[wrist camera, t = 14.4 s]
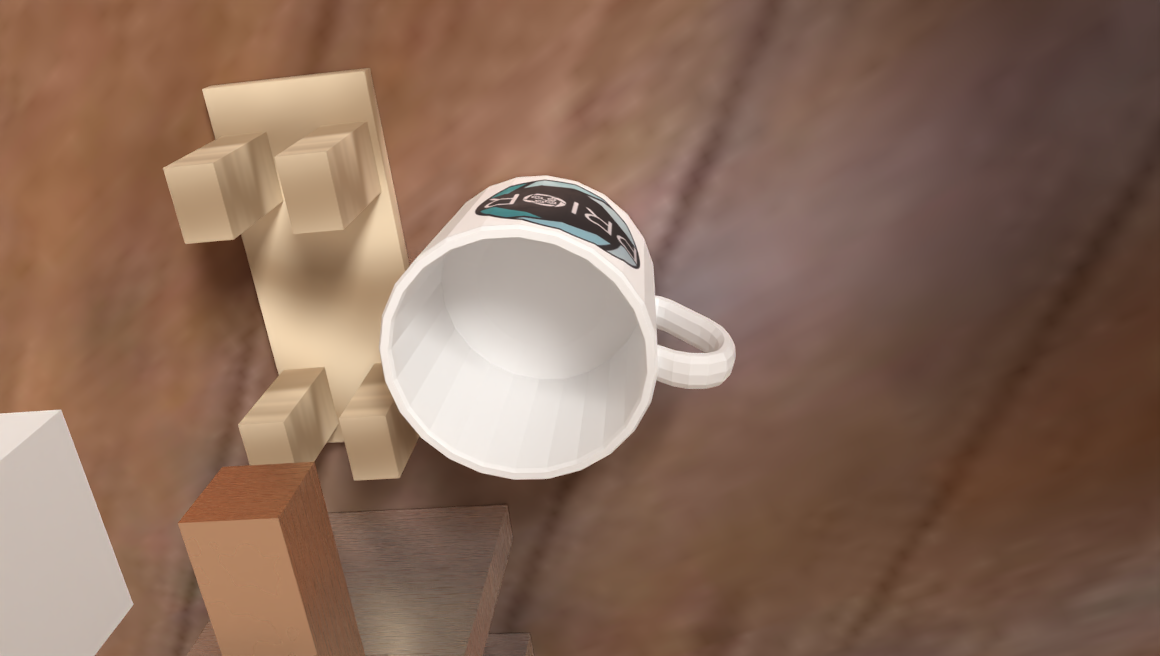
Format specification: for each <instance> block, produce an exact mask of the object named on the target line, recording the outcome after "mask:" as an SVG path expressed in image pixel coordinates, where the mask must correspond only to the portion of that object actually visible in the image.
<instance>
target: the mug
mask: <svg viewBox="0 0 1160 656" xmlns="http://www.w3.org/2000/svg"><path fill="white" fill-rule="evenodd" d="M657 328H658V329H660V330H663V331H665V332H667V333H669V334H671V335H673V336H675V337H677V338H679V339H680V340H682V341H684V342H686V343H688V344H690V345H692V346H694V347H695V348H697V349H699V350H701V351H703V352H704V353H688V352H682V351H676V350H673V349H670V348H667V347H664V346H660V345H657ZM379 352H380V357H381V363H382V368H383V374H384V379H385V382H386V384H387V386H388V388H389V390H390V392H391V394H392V397H393V399H394V401H395V403H396V405H397V407H398V409H399V411H400V413H401V414H402V415H403V416H404V418H405V419H406V420H407V421H408V422H409V424H410V425H411V426H412V427H413V428H414V430H415V431H416V432H417V433H418V434H419V436H420V437H421V438H422V439H423V440H425V441H426V442H427V443H429V444H430V445H431V446H433V447H434V448H435V449H437V450H438V451H439V452H441V453H442V454H443V455H445V456H446V457H447V458H449V459H451V460H453V461H455V462H457V463H460V464H462V465H464V466H466V467H469V468H471V469H473V470H475V471H478V472H480V473H484V474H489V475H494V476H499V477H504V478H509V479H514V480H520V479H549V478H553V477H557V476H561V475H565V474H569V473H572V472H576V471H580V470H582V469H584V468H586V467H588V466H590V465H591V464H593V463H595V462H597V461H599V460H601V459H602V458H604V457H606V456H608V455H610V454H611V453H612V452H613V451H614V450H616V449H617V448H618V447H619V446H620V445H621V444H622V443H623V442H624V441H625V440H626V439H627V438H628V437H629V436H630V435H631V434H632V433H633V432H634V431H635V430H636V428H637V426H638V424H639V423H640V421H641V419H642V417H643V416H644V414H645V412H646V410H647V409H648V407H649V405H650V404H651V401H652V396H653V392H654V388H655V384H656V381H659V382H662V383H665V384H668V385H670V386H675V387H680V388H686V389H707V388H711V387H715V386H719V385H720V384H722V383H723V382H724V381H725V380H726V379H727V378H728V377H729V376H730V375H731V372H732V368H733V365H734V362H735V358H736V352H735V345H734V342H733V340H732V338H731V337H730V335H729V334H728V332H727V331H726V330H725V329H724V328H723V327H722V326H720V325H719V324H717V323H715V322H714V321H712V320H711V319H709V318H707V317H705V316H703V315H701V314H699V313H697V312H695V311H693V310H691V309H689V308H686V307H684V306H682V305H680V304H678V303H676V302H674V301H672V300H670V299H667V298H664V297H661V296H655V283H654V267H653V262H652V260H651V257H650V254H649V251H648V248H647V245H646V243H645V240H644V237H643V236H642V235H641V233H640V232H639V230H638V229H637V227H636V226H635V225H634V223H633V222H632V220H631V219H630V217H629V216H628V214H627V213H625V212H624V211H623V210H622V209H621V208H619V207H618V206H617V205H616V204H615V203H614V202H612V201H611V200H610V199H609V198H608V197H607V196H605V195H604V194H602V193H600V192H598V191H596V190H594V189H592V188H589V187H587V186H585V185H583V184H581V183H579V182H577V181H572V180H567V179H562V178H557V177H552V176H530V177H516V178H513V179H510V180H507V181H505V182H502V183H499V184H496V185H493V186H490V187H488V188H486V189H485V190H484V191H482V192H481V193H479V194H478V195H476V196H475V197H473V198H472V199H470V200H469V201H467V202H466V203H465V204H464V205H463V206H462V208H461V209H460V210H459V211H458V212H457V213H456V214H455V215H454V217H453V218H452V219H451V220H450V221H449V222H448V223H447V224H446V226H445V227H444V228H443V229H442V230H441V231H440V232H439V233H438V234H437V236H436V237H435V238H434V239H433V240H432V241H431V242H430V243H429V245H428V246H427V247H426V248H425V249H424V250H423V251H422V252H421V253H420V255H419V256H418V257H417V258H416V259H415V260H414V262H413V263H412V264H411V265H410V266H409V268H408V269H407V270H406V271H405V272H404V274H403V275H402V276H401V277H400V279H399V280H398V281H397V282H396V283H395V285H394V287H393V290H392V292H391V295H390V297H389V299H388V302H387V304H386V307H385V309H384V311H383V314H382V320H381V330H380V340H379Z"/></svg>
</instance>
